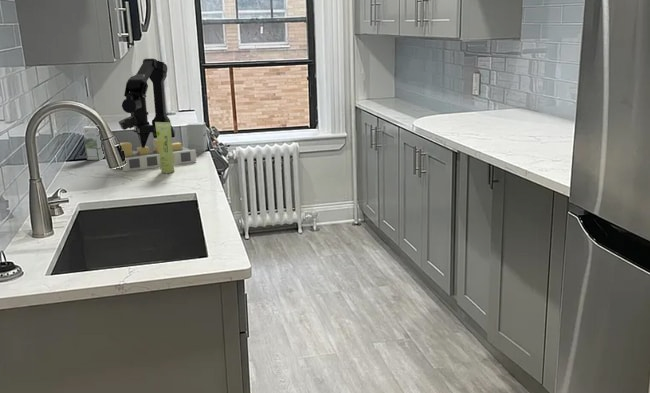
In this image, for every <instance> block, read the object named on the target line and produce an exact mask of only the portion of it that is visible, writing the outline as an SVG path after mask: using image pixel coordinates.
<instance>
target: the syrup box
mask: <svg viewBox="0 0 650 393" xmlns="http://www.w3.org/2000/svg"><path fill="white" fill-rule="evenodd" d="M96 126H97V125H85V126H83V127H82V132H83V141H84V147H85V155H86V161H101V160H104V159H105V158H104V156H105V153H104V154H103V151H102V147H101V140H100V134H99V131H98V129H97V127H96ZM103 158H104V159H103Z"/></svg>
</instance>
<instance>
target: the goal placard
mask: <svg viewBox="0 0 650 393" xmlns="http://www.w3.org/2000/svg"><path fill="white" fill-rule="evenodd" d="M126 161H127V164H126V165H125V166H123V169H122V172H128V171H136V170H144V169H151V168H159V167H160V168H161V164H160V155H159V154H154V155H146V156H137V157H129V158H126ZM173 161H174V164H175V165H182V164H189V163H188V162H190V163H196V162H195V161H197V152H196V150H187V151H178V152H173ZM181 163H182V164H181Z"/></svg>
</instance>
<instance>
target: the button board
mask: <svg viewBox="0 0 650 393" xmlns="http://www.w3.org/2000/svg"><path fill="white" fill-rule="evenodd" d="M149 150H150V154H143V155H139V154H138V152H137V150H132V152H133V156H126V158H129V157H137V156H146V155H154V154H159V153H155V152H154V148H149ZM187 150H190V149H188V147H186V146H183V145H182V150H176V151H173V152H178V151H187ZM120 170H123V167H121V169H120Z"/></svg>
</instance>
